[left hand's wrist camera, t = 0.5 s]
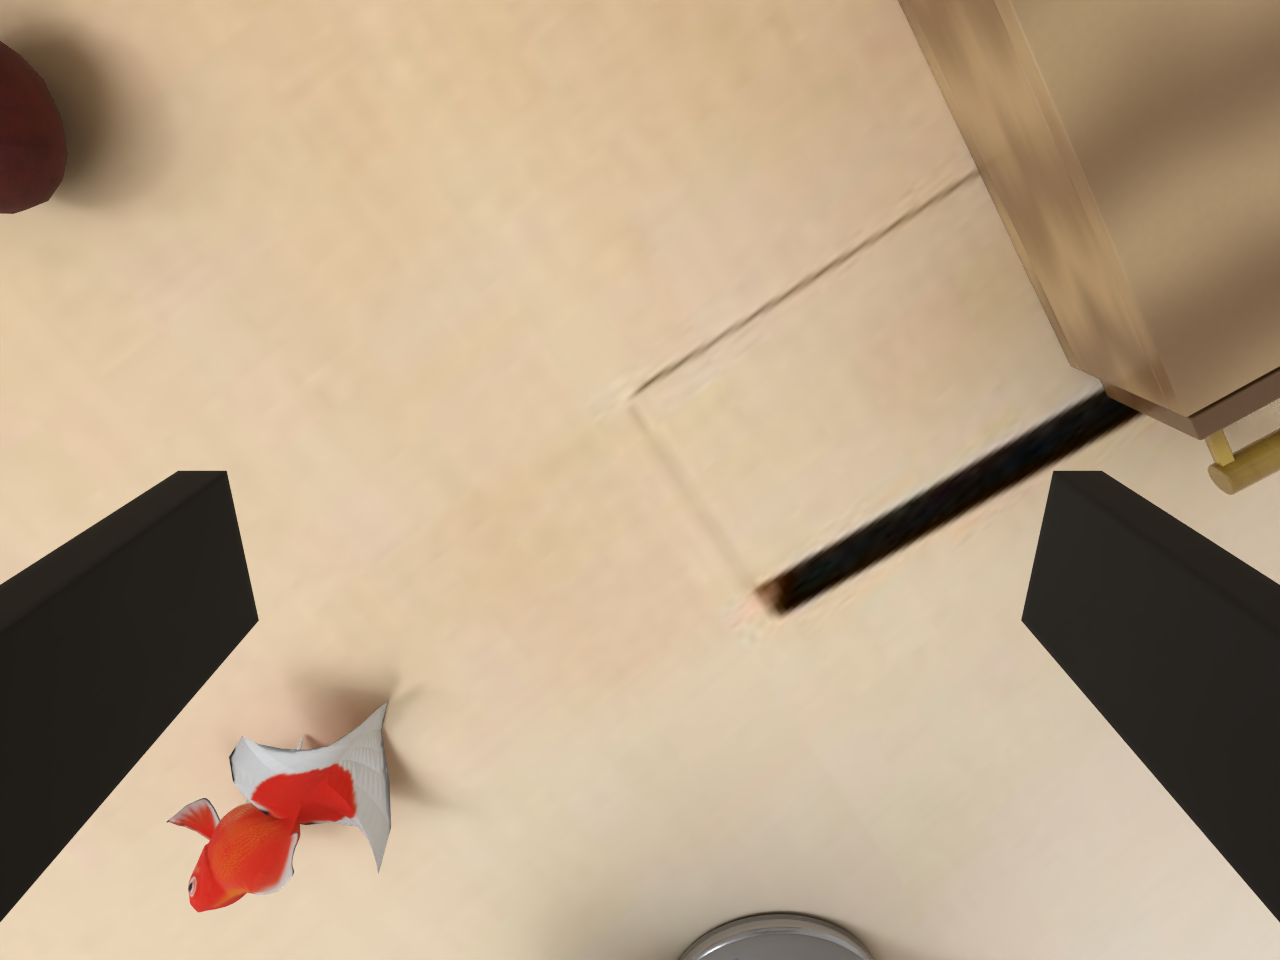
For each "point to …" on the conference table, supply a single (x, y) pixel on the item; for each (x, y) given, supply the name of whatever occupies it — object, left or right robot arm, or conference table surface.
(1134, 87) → the cabinet
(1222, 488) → the drawer
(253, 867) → the fish
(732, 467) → the conference table surface
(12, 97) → the dark red ball
